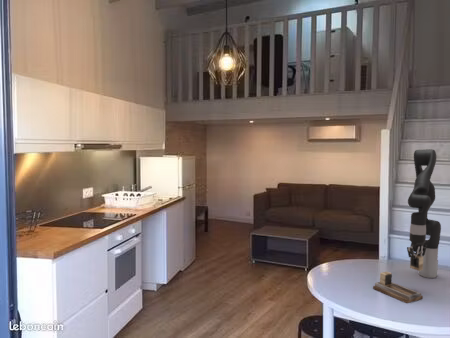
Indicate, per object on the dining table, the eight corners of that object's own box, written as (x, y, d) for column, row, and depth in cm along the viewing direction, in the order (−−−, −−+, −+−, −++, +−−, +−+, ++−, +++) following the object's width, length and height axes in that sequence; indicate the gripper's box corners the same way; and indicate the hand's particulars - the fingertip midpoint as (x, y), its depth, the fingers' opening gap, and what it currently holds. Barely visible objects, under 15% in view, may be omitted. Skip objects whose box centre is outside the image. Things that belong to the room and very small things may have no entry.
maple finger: (422, 269, 197) (423, 256, 197) (418, 270, 196) (419, 257, 195) (413, 266, 202) (414, 254, 201) (409, 267, 200) (410, 255, 200)
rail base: (388, 285, 205) (389, 269, 205) (422, 298, 188) (423, 282, 187) (373, 288, 200) (373, 273, 199) (406, 303, 182) (407, 286, 182)
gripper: (419, 229, 204) (418, 260, 205) (402, 232, 197) (401, 264, 198) (432, 232, 197) (431, 264, 199) (415, 235, 190) (414, 269, 192)
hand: (416, 264), depth 198 cm, fingers closed on maple finger, 3 cm apart
